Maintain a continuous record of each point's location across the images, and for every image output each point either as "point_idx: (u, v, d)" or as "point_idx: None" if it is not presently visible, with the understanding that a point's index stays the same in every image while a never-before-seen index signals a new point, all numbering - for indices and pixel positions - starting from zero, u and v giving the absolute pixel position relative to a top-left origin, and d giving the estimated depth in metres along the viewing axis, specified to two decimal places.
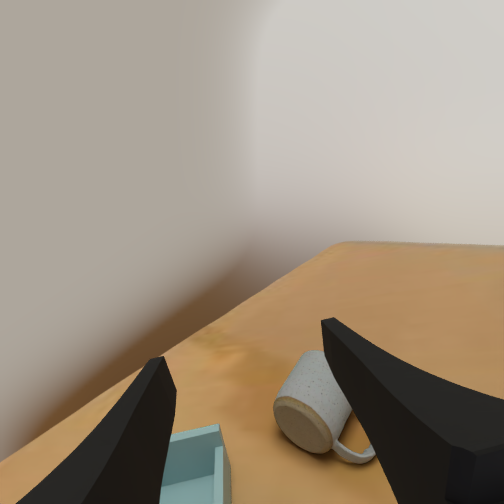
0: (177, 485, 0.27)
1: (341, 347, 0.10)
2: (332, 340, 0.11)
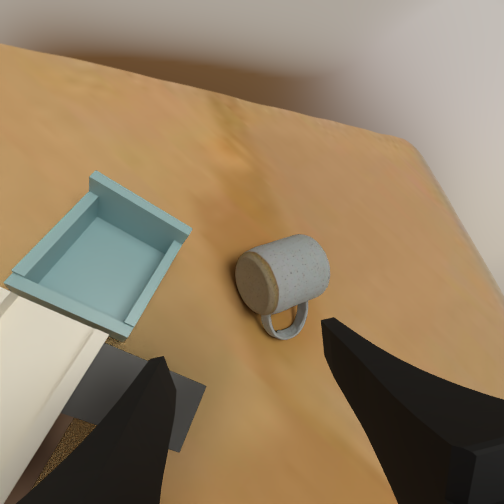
0: (120, 231, 0.25)
1: (341, 347, 0.10)
2: (332, 340, 0.11)
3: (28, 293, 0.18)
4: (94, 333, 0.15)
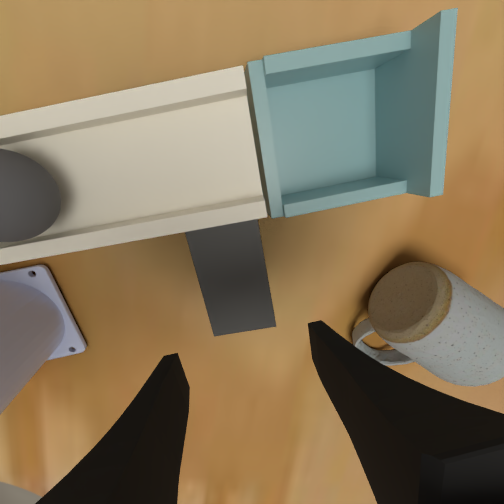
0: (372, 109, 0.18)
1: (326, 351, 0.10)
2: (318, 343, 0.11)
3: (252, 95, 0.15)
4: (259, 203, 0.12)
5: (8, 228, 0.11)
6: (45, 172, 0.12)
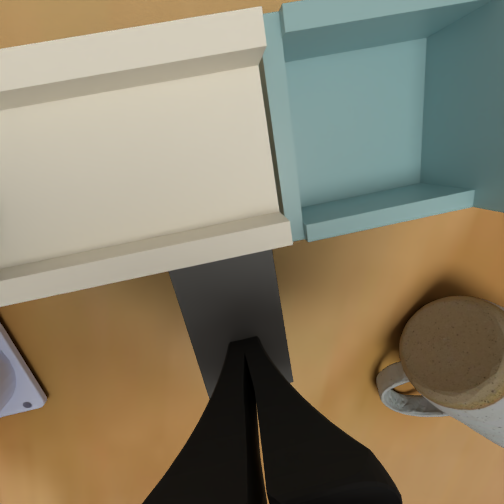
0: (420, 93, 0.14)
1: None
2: (246, 360, 0.10)
3: (264, 66, 0.10)
4: (282, 225, 0.08)
5: None
6: None
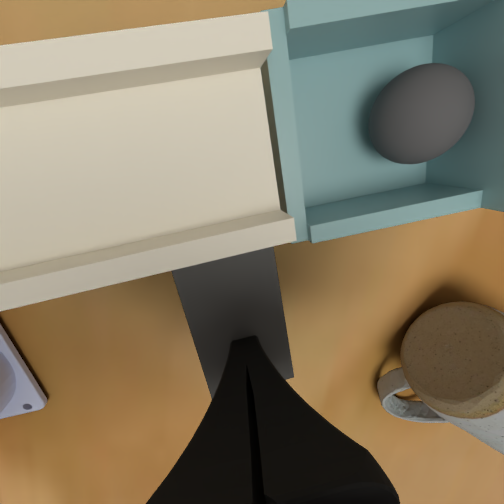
0: None
1: (247, 369, 0.10)
2: None
3: (268, 63, 0.10)
4: (286, 221, 0.09)
5: (378, 151, 0.13)
6: (404, 101, 0.10)
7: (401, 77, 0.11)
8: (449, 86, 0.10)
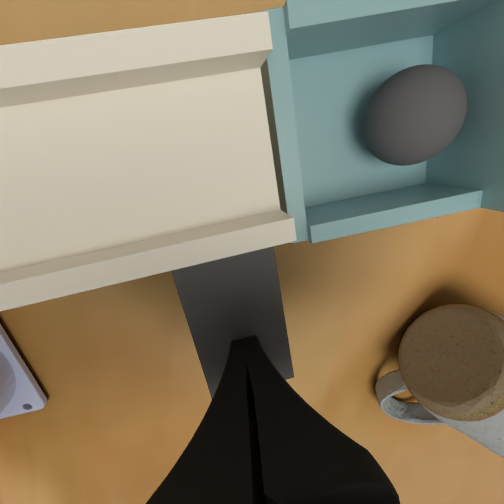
0: None
1: (247, 369, 0.10)
2: None
3: (268, 63, 0.10)
4: (286, 221, 0.09)
5: None
6: (388, 104, 0.11)
7: (390, 80, 0.11)
8: (433, 89, 0.10)
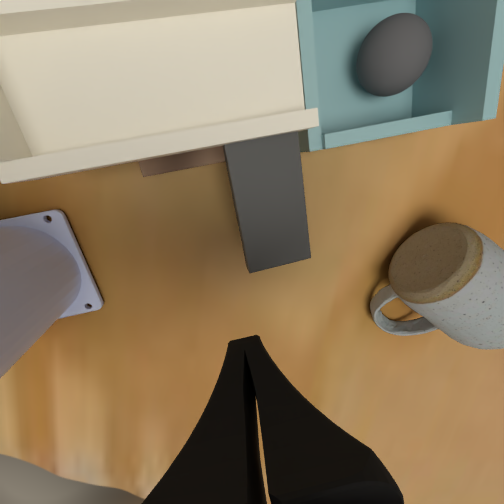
0: None
1: (249, 368, 0.10)
2: (247, 360, 0.10)
3: (296, 6, 0.14)
4: (312, 110, 0.12)
5: None
6: (369, 44, 0.15)
7: (374, 27, 0.15)
8: (400, 30, 0.14)
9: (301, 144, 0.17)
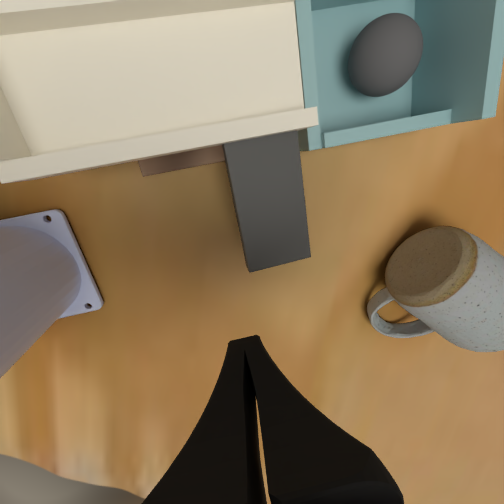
0: None
1: None
2: (247, 360, 0.10)
3: (295, 5, 0.14)
4: (312, 109, 0.12)
5: None
6: (354, 48, 0.15)
7: None
8: (380, 33, 0.14)
9: (301, 143, 0.17)
